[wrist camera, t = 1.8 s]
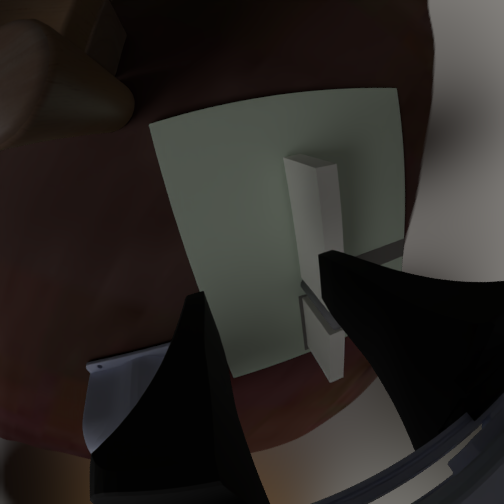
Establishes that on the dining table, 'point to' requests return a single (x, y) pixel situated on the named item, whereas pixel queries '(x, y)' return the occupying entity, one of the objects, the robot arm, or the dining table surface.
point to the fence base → (323, 335)
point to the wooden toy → (60, 70)
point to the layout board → (278, 204)
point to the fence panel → (314, 213)
